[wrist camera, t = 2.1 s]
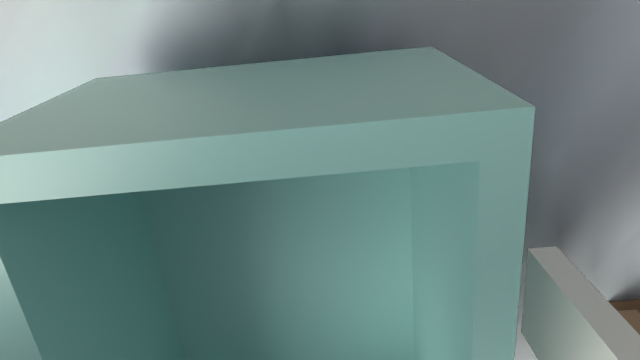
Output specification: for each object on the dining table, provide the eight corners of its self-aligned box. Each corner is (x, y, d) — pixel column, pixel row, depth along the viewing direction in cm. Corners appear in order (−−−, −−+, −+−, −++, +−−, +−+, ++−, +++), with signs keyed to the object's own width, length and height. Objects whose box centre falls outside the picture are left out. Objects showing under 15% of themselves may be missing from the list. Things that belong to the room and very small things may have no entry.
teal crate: (114, 69, 13) (-91, 163, 6) (421, 40, 13) (534, 106, 6) (199, 403, 18) (132, 654, 11) (425, 386, 18) (491, 630, 11)
